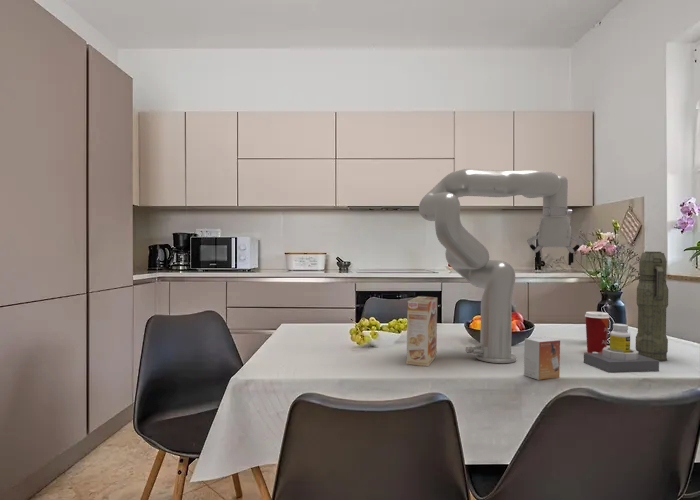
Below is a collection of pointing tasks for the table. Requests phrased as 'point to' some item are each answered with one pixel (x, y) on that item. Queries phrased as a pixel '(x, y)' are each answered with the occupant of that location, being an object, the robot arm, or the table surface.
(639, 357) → the grey bottle holder base
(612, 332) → the supplement bottle
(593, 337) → the paper cup
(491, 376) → the table surface
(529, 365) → the small box
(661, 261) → the thermos
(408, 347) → the coffeecake box
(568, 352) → the table surface
